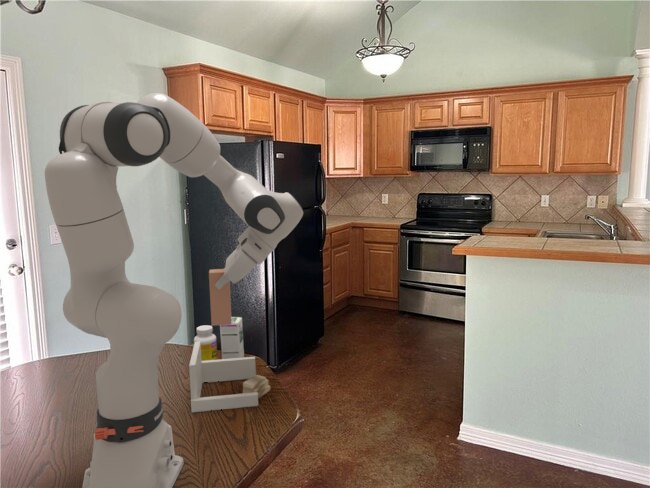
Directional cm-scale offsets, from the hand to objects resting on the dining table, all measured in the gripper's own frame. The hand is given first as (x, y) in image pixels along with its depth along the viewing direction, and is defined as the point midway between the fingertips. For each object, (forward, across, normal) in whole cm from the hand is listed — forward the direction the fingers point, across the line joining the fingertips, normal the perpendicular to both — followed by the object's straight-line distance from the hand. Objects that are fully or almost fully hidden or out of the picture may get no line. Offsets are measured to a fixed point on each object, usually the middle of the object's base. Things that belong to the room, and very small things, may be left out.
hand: (217, 284), depth 122 cm
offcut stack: (+15, +3, +28) cm, 32 cm away
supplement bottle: (+25, -17, +18) cm, 35 cm away
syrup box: (+20, -18, +23) cm, 35 cm away
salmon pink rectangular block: (+7, 0, +8) cm, 10 cm away
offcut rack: (+21, 0, +22) cm, 30 cm away
